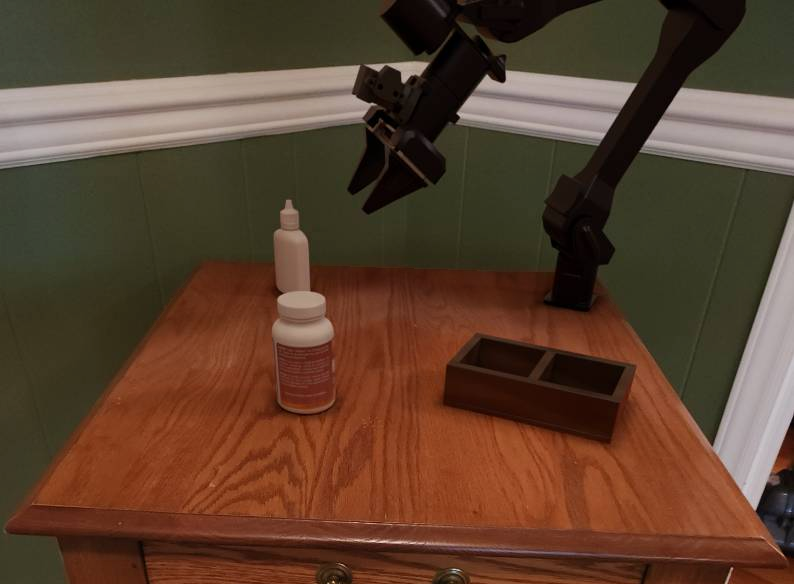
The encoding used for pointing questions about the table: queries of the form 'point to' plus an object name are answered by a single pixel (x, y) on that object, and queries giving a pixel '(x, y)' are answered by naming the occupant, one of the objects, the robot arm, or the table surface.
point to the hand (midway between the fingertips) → (356, 201)
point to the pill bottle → (303, 353)
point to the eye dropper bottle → (291, 253)
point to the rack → (539, 386)
